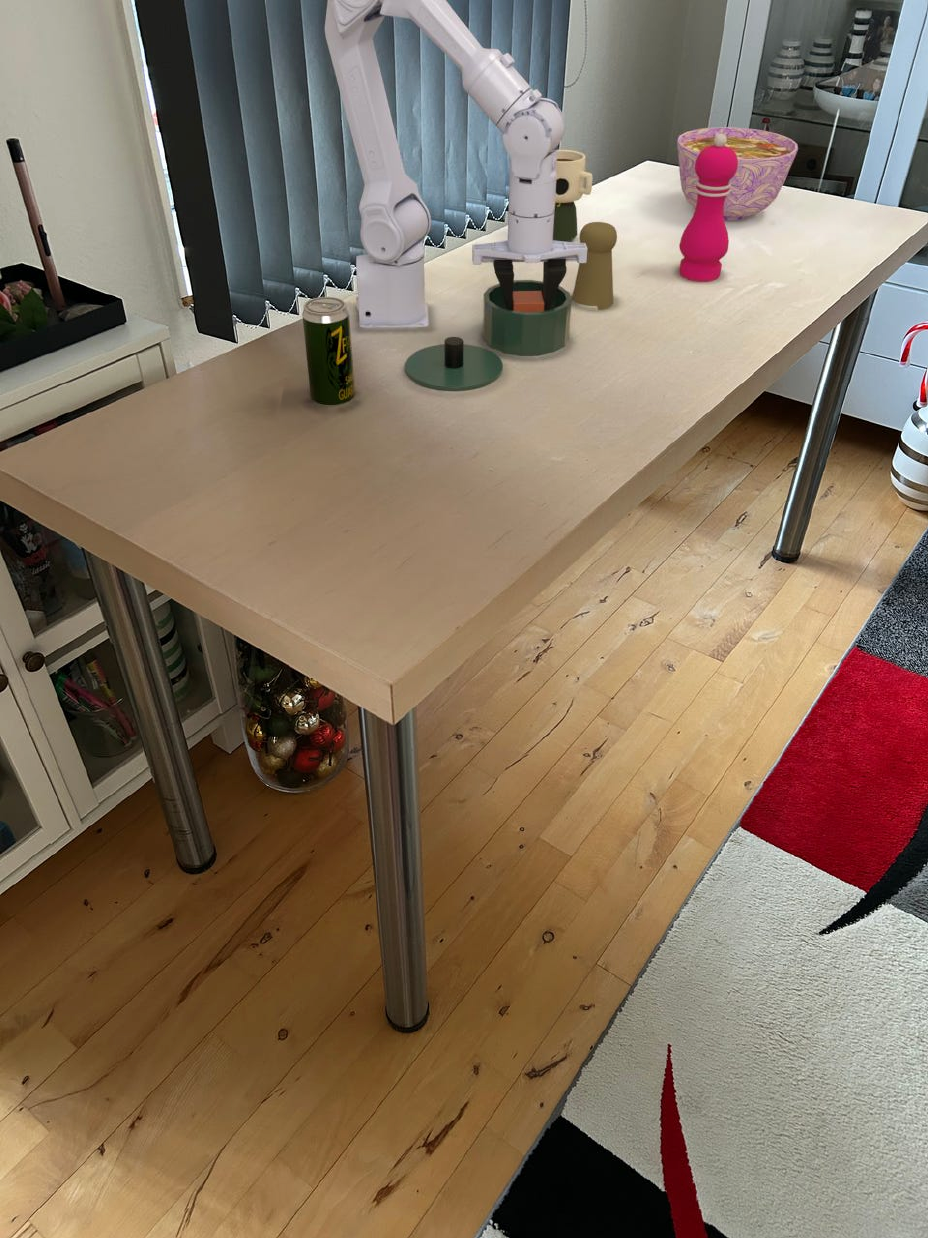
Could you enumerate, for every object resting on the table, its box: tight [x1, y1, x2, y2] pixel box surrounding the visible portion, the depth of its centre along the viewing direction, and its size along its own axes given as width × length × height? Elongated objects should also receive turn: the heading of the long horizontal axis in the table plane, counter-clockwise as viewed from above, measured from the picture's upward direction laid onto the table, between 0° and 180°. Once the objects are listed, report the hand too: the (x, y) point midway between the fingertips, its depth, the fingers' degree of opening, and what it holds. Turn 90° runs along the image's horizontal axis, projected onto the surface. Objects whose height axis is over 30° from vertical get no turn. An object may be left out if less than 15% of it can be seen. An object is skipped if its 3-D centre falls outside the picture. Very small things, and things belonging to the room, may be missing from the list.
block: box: [513, 291, 544, 312], centre depth 133 cm, size 4×4×4 cm
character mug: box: [550, 149, 593, 242], centre depth 162 cm, size 11×7×13 cm, turn 55°
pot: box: [482, 279, 572, 357], centre depth 134 cm, size 11×11×6 cm
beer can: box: [301, 296, 356, 408], centre depth 119 cm, size 5×5×12 cm
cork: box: [571, 221, 618, 311], centre depth 143 cm, size 6×6×11 cm
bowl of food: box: [676, 126, 799, 222], centre depth 173 cm, size 20×20×12 cm
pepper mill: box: [678, 134, 738, 282], centre depth 148 cm, size 7×7×20 cm
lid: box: [404, 336, 504, 392], centre depth 127 cm, size 12×12×4 cm
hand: (526, 315), depth 133 cm, fingers closed on block, 4 cm apart
